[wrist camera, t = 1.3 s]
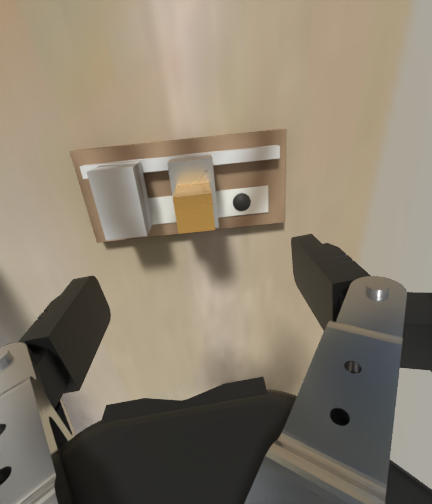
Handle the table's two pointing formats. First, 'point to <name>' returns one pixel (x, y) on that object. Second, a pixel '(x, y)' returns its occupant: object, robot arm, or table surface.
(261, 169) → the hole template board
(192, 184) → the block
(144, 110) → the table surface
